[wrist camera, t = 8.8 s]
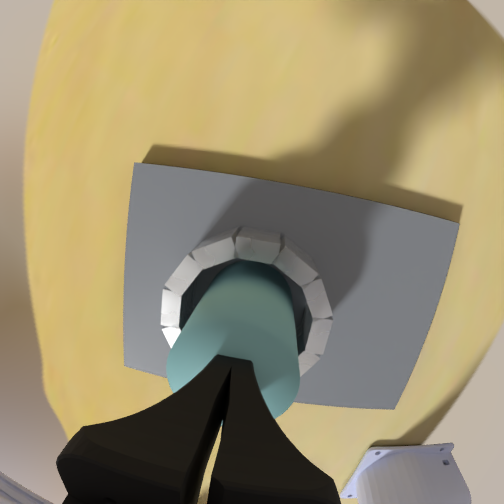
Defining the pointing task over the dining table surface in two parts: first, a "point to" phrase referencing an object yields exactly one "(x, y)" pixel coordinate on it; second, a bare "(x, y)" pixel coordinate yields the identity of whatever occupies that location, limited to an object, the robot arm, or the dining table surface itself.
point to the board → (327, 262)
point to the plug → (243, 332)
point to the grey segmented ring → (261, 250)
